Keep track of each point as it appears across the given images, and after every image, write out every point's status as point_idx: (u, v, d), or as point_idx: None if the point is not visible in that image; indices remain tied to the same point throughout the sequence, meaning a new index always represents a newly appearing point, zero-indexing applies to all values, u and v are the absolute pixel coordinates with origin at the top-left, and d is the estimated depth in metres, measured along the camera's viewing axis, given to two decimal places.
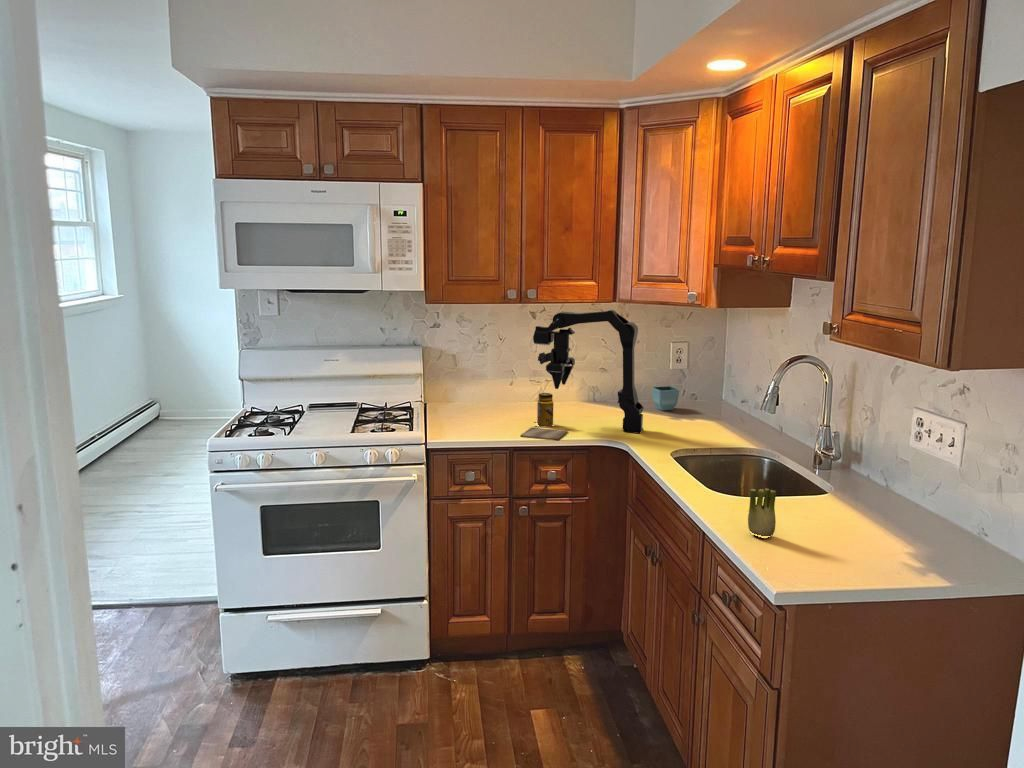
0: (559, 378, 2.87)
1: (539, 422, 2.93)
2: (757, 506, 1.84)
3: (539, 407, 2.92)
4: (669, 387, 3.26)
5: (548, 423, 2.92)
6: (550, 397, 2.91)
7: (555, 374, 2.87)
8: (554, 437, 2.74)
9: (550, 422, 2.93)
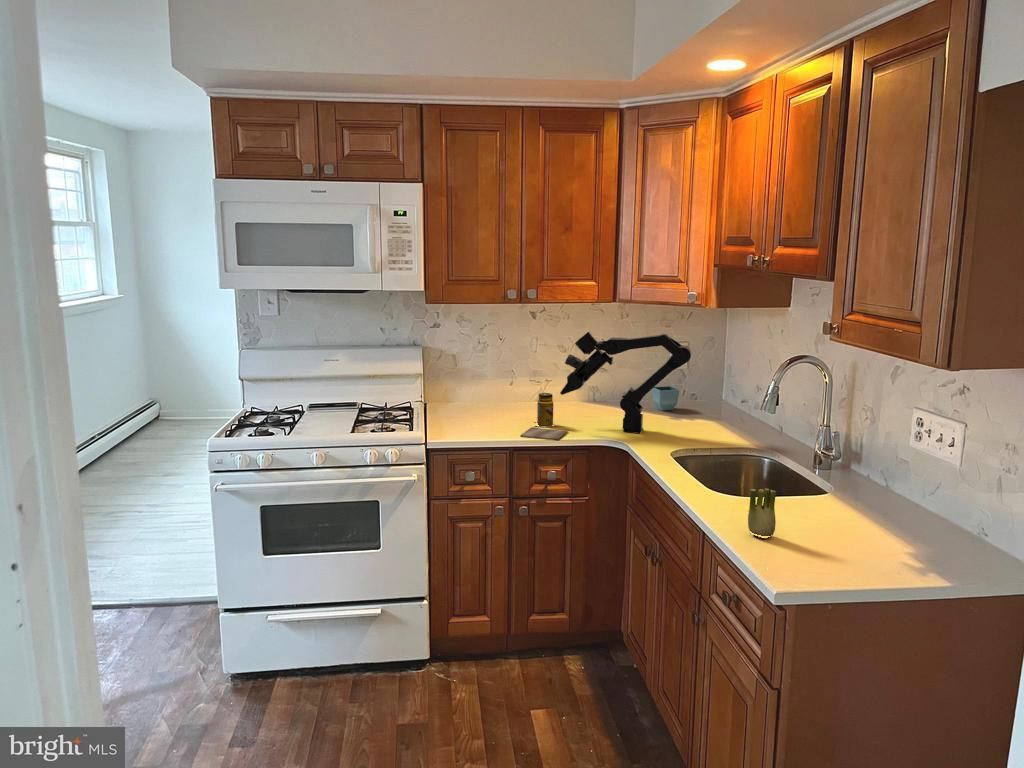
0: (571, 389, 2.84)
1: (539, 422, 2.93)
2: (757, 506, 1.84)
3: (539, 407, 2.92)
4: (669, 387, 3.26)
5: (548, 423, 2.92)
6: (550, 397, 2.91)
7: (570, 384, 2.84)
8: (554, 437, 2.74)
9: (550, 422, 2.93)
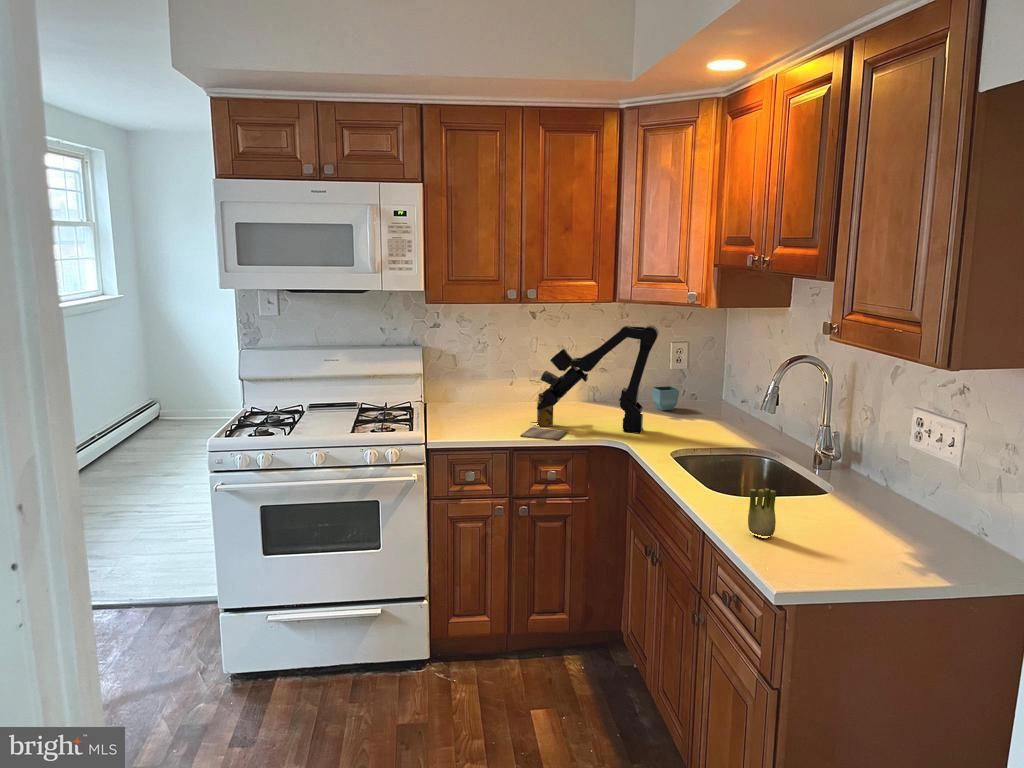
0: (547, 405, 2.89)
1: (539, 422, 2.93)
2: (757, 506, 1.84)
3: None
4: (669, 387, 3.26)
5: (548, 423, 2.92)
6: None
7: (546, 399, 2.89)
8: (554, 437, 2.74)
9: (550, 422, 2.93)
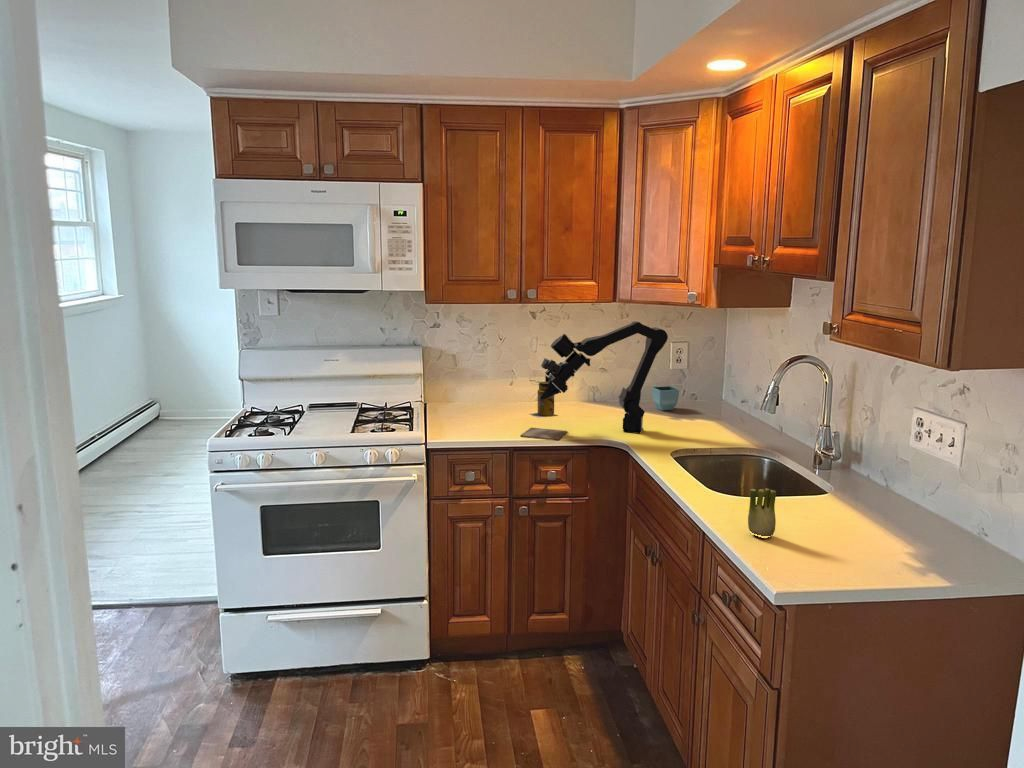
0: (552, 393, 2.76)
1: (542, 412, 2.79)
2: (757, 506, 1.84)
3: None
4: (669, 387, 3.26)
5: (551, 412, 2.80)
6: None
7: (551, 387, 2.76)
8: (554, 437, 2.74)
9: (553, 411, 2.80)
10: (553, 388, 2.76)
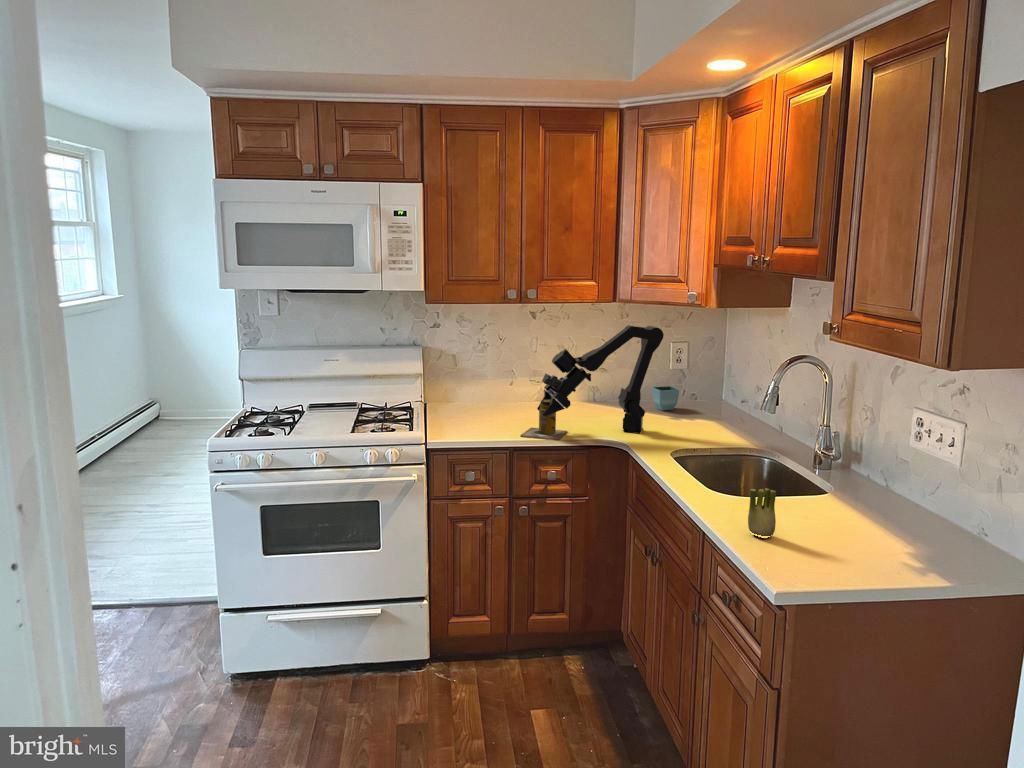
0: (555, 410, 2.73)
1: (544, 431, 2.78)
2: (757, 506, 1.84)
3: None
4: (669, 387, 3.26)
5: (553, 431, 2.78)
6: None
7: (554, 404, 2.73)
8: (554, 437, 2.74)
9: (554, 429, 2.79)
10: (556, 405, 2.73)
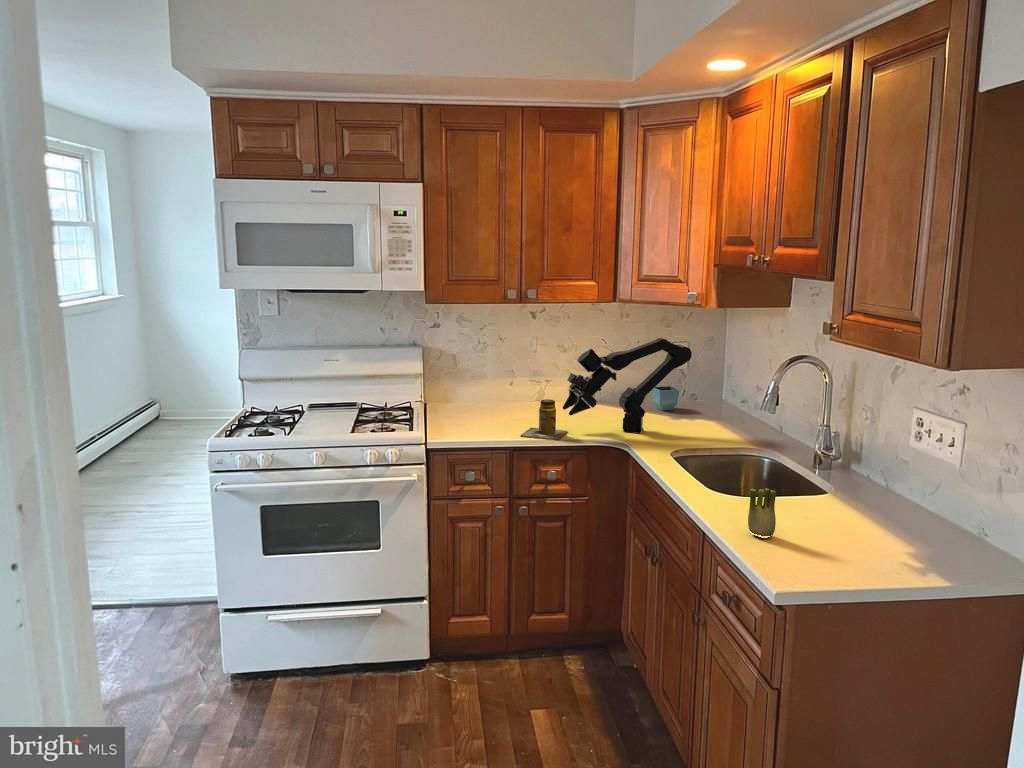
0: (581, 409, 2.75)
1: (544, 431, 2.78)
2: (757, 506, 1.84)
3: (544, 415, 2.77)
4: (669, 387, 3.26)
5: (553, 431, 2.78)
6: (554, 403, 2.77)
7: (580, 403, 2.75)
8: (554, 437, 2.74)
9: (554, 429, 2.79)
10: (582, 404, 2.75)
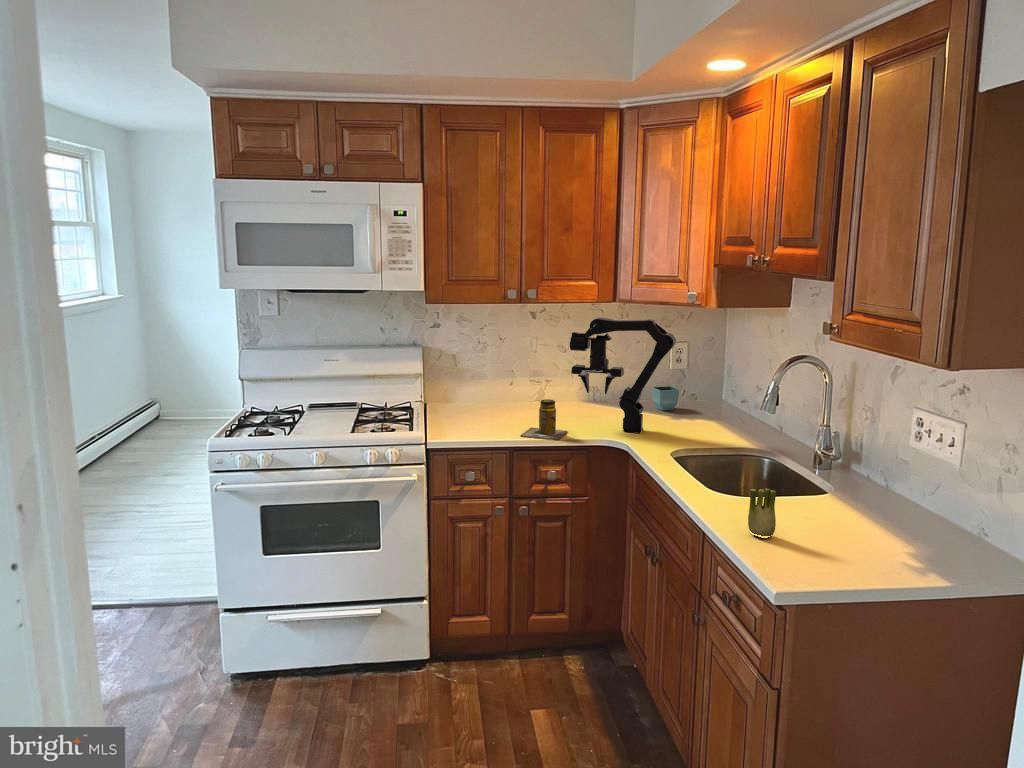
0: None
1: (544, 431, 2.78)
2: (757, 506, 1.84)
3: (544, 415, 2.77)
4: (669, 387, 3.26)
5: (553, 431, 2.78)
6: (554, 403, 2.77)
7: None
8: (554, 437, 2.74)
9: (554, 429, 2.79)
10: None
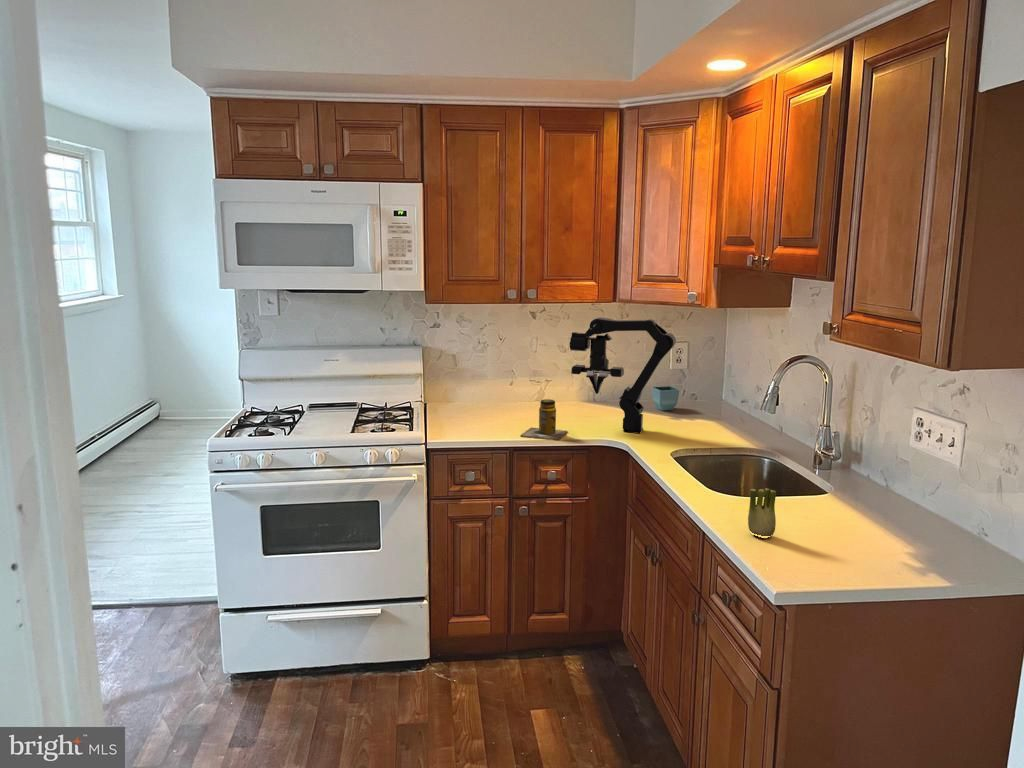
0: None
1: (544, 431, 2.78)
2: (757, 506, 1.84)
3: (544, 415, 2.77)
4: (669, 387, 3.26)
5: (553, 431, 2.78)
6: (554, 403, 2.77)
7: None
8: (554, 437, 2.74)
9: (554, 429, 2.79)
10: None
